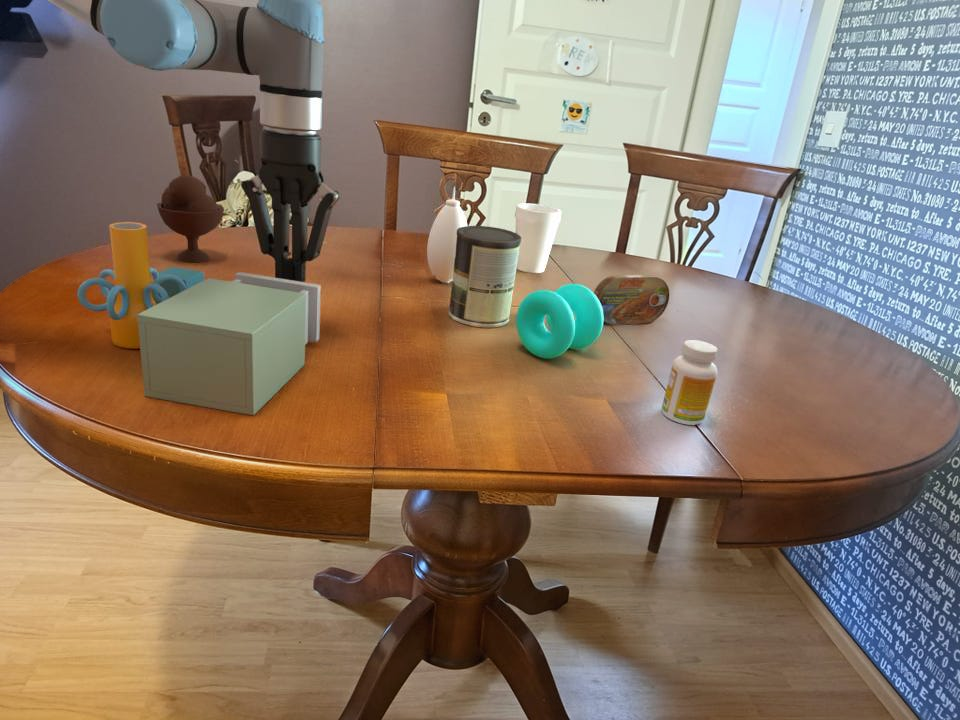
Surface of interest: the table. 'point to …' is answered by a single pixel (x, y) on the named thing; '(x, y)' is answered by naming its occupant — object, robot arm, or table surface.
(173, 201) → the ice cream bowl
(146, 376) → the green box
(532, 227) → the foam cup
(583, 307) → the donuts
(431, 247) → the sauce bottle
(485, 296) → the coffee can
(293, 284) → the light grey drawer
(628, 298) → the tin
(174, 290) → the teal cube
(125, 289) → the cylinder
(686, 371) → the supplement bottle
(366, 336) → the table surface
